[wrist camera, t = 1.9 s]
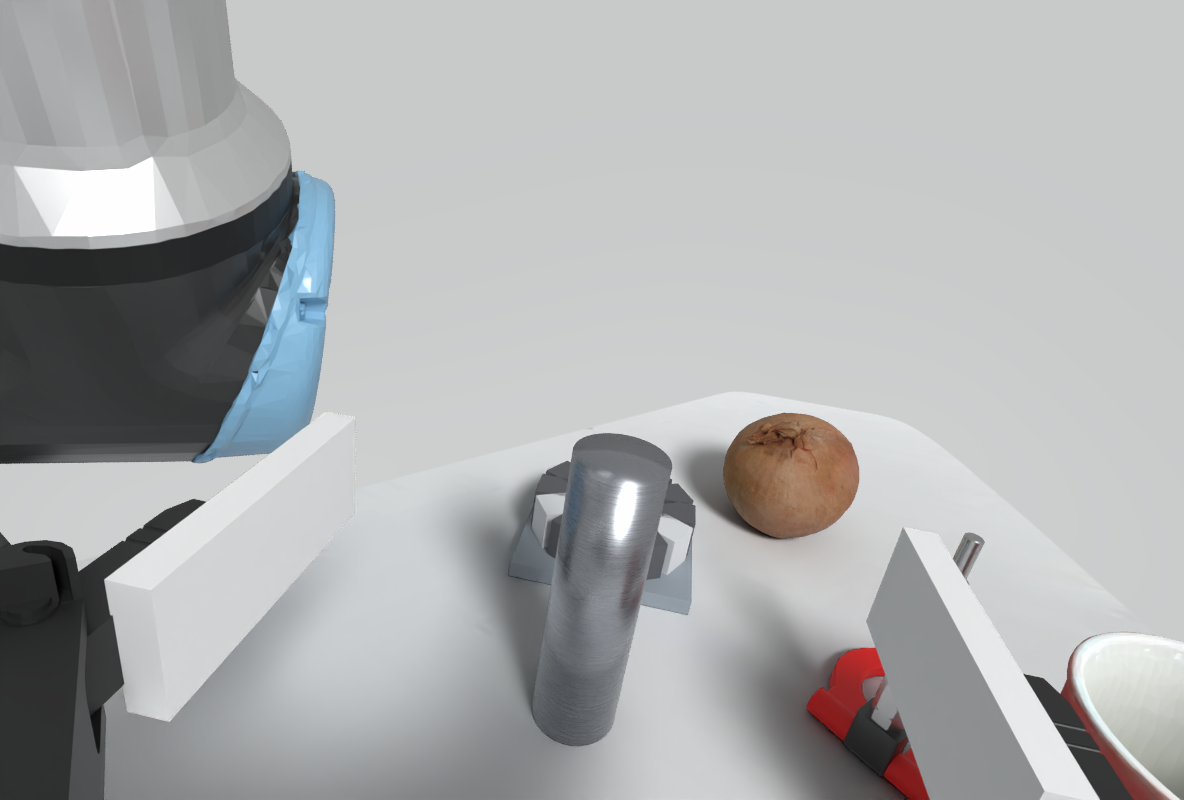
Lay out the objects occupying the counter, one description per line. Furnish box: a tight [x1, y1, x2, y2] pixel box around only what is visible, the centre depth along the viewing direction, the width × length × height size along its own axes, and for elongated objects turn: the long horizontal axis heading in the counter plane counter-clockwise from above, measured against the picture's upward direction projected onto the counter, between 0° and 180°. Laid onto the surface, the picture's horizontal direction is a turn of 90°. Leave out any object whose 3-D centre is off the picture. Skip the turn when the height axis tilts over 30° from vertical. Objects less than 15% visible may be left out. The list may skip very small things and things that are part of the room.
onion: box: [723, 413, 859, 538], centre depth 49 cm, size 10×9×10 cm
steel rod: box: [532, 433, 672, 746], centre depth 29 cm, size 4×4×14 cm
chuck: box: [508, 461, 695, 615], centre depth 44 cm, size 11×11×4 cm
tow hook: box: [807, 533, 985, 800], centre depth 32 cm, size 8×13×9 cm
